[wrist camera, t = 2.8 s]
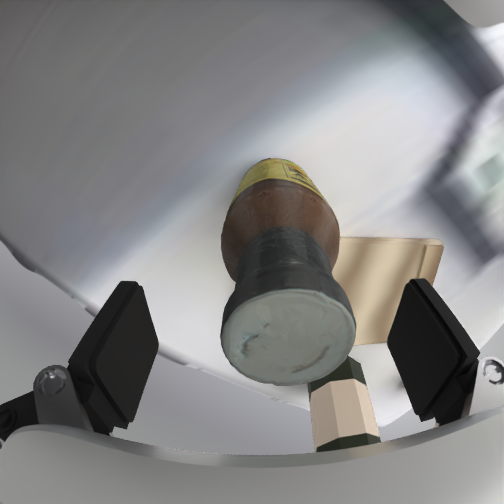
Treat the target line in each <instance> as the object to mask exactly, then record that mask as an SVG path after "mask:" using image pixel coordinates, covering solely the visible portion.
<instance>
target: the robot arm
mask: <svg viewBox="0 0 504 504" xmlns="http://www.w3.org/2000/svg"><path fill="white" fill-rule="evenodd" d="M387 345H388V348H389V350H390V353H391V355H392V357H393V360H394V362H395V364H396V367H397V369H398V371H399V374H400V376H401V379H402V381H403V384H404V386H405V389H406V391H407V394H408V397H409V399H410V402H411V404H412V407H413V410H414V412H415V414H416V415H419V417H420V420H421V422H423V421H426V420H429V419H433V418H434V417H435V419H436V424H435V426H434V428H433V429H429V430H426V431H423V432H420V433H416V434H413V435H410V436H406V437H402V438H398V439H394V440H390V441H386V442H381V443H376V444H371V445H366V446H360V447H354V448H348V449H341V450H334V451H326V452H316V453H306V454H289V455H230V454H213V453H203V452H193V451H184V450H177V449H171V448H165V447H158V446H153V445H148V444H143V443H138V442H133V441H128V440H123V439H120V438H115V437H114V436H113V434H112V431H113V428H114V426H115V427H119V428H123V429H127V427H128V424H129V422H133V420H134V418H135V415H136V411H137V409H138V406H139V402H140V400H141V396H142V394H143V390H144V387H145V385H146V382H147V379H148V376H149V373H150V371H151V368H152V365H153V362H154V359H155V357H156V354H157V351H158V347H159V343H158V338H157V335H156V332H155V329H154V325H153V322H152V319H151V315H150V312H149V308H148V305H147V301H146V297H145V294H144V290H143V287H142V286H139V285H138V283H137V282H136V281H121V282H120V283H119V284H118V286H117V287H116V288H115V290H114V291H113V293H112V294H111V295H110V297H109V298H108V300H107V301H106V303H105V304H104V306H103V307H102V309H101V310H100V312H99V313H98V315H97V316H96V318H95V319H94V321H93V322H92V324H91V325H90V327H89V328H88V330H87V331H86V333H85V335H84V336H83V338H82V339H81V341H80V342H79V344H78V346H77V347H76V349H75V351H74V352H73V354H72V356H71V357H70V359H69V361H68V363H69V365H68V367H67V369H66V368H65V367H63V366H60V365H52V366H48V367H46V368H44V369H43V370H42V371H41V372H39V374H38V375H37V376H36V378H35V381H34V383H33V384H34V385H33V391H31V392H29V393H27V394H25V395H22V396H20V397H18V398H15V399H13V400H11V401H8V402H6V403H3V404H2V405H0V504H504V363H503V362H502V361H501V360H500V359H498V358H496V357H492V356H486V357H484V358H482V359H481V360H480V361H478V359H477V357H478V356H479V354H480V352H479V350H478V349H477V347H476V346H475V344H474V343H473V341H472V340H471V338H470V337H469V335H468V334H467V332H466V331H465V329H464V328H463V327H462V325H461V324H460V322H459V321H458V320H457V318H456V317H455V316H454V314H453V313H452V311H451V310H450V309H449V307H448V306H447V305H446V304H445V302H444V301H443V300H442V298H441V297H440V296H439V294H438V293H437V292H436V291H435V289H434V288H433V287H432V286H431V284H430V283H429V282H428V281H427V280H426V279H425V278H417V279H411V280H410V281H409V282H408V283H406V285H405V287H404V290H403V293H402V297H401V300H400V303H399V306H398V309H397V312H396V315H395V318H394V321H393V324H392V327H391V329H390V332H389V335H388V338H387Z"/></svg>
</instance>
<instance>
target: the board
mask: <svg viewBox="0 0 504 504" xmlns="http://www.w3.org/2000/svg"><path fill="white" fill-rule="evenodd" d="M443 248H444V244H442V243H441V242H440V241H439V240H438V239H406V238H354V237H340V242H339V254H338V259H337V261H336V264H335V266H334V268H333V271H332V275H333V277H334V280H336V281H337V282H338V283H339V284H340V286H341V287H342V288H343V290H344V291H345V293H346V295H347V297H348V299H349V302H350V304H351V307H352V310H353V314H354V317H355V321H356V337H355V342H354V344H353V345H364V344H375V343H385V342H387V338H388V335H389V332H390V329H391V327H392V324H393V321H394V318H395V315H396V312H397V309H398V306H399V303H400V300H401V297H402V293H403V290H404V287H405V285H406V283H408V282H409V281H410V280H411V279H417V278H425V279H426V280H427V281H428V282H429V283H430V284H431V286H432V285H433V282H434V279H435V276H436V273H437V270H438V266H439V263H440V259H441V256H442V252H443Z"/></svg>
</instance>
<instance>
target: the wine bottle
mask: <svg viewBox="0 0 504 504" xmlns="http://www.w3.org/2000/svg"><path fill="white" fill-rule="evenodd" d="M308 393H309V402H310V412H311V422H312V433H313V444H314V453H316V452H326V451H334V450H341V449H348V448H354V447H360V446H366V445H371V444H376V443H381V441H380V436H379V432H378V427H377V423H376V419H375V415H374V411H373V408H372V404H371V400H370V396H369V393H368V389H367V385H366V382H365V378H364V375H363V371H362V368H361V364H360V363H358V362H357V361H355V360H354V359H352V358H351V357H349V356H347V358H346V360H345V361H344V362H343V363H342V364H340V365H339V366H338V367H337V368H336V369H335V370H334V371H332V372H331V373H330V374H328V375H326V376H325V377H323V378H320V379H317V380H314V381H311V382H308Z"/></svg>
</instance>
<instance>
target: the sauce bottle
mask: <svg viewBox="0 0 504 504" xmlns="http://www.w3.org/2000/svg"><path fill="white" fill-rule="evenodd" d="M339 242H340V232H339V225H338V221H337V219H336V216H335V214H334V212H333V210H332V209H331V207H330V206H329V204H328V203H327V201H326V200H325V199H324V197H323V196H322V195H321V193H320V192H319V190H318V189H317V188H316V186H315V185H314V184H313V182H312V181H311V180H310V179H309V177H308V176H307V175H306V173H305V172H304V171H303V170H302V169H301V168H300V167H299V166H297V165H296V164H294V163H293V162H291V161H288V160H284V159H271V158H269V159H264V160H262V161H260V162H259V163H257V164H256V165H254V166H253V167H252V168H251V169H250V170H249V171H248V172H247V173H246V175H245V176H244V178H243V180H242V182H241V184H240V186H239V188H238V190H237V192H236V194H235V196H234V199H233V201H232V203H231V205H230V207H229V210H228V212H227V216H226V220H225V222H224V226H223V231H222V234H221V250H222V256H223V260H224V263H225V266H226V269H227V271H228V273H229V275H230V277H231V278H232V279H233V280H234V281H235V282H236V285H235V291H234V292H233V293H232V295H231V296H230V298H229V300H228V302H227V304H226V306H225V308H224V313H223V320H222V327H221V334H220V338H221V345H222V349H223V352H224V354H225V356H226V358H227V359H228V360H229V362H230V364H231V365H232V366H233V367H235V368H236V369H237V371H238V372H239V373H241V374H243V375H244V376H246V377H248V378H250V379H252V380H255V381H258V382H261V383H268V384H274V385H276V386H292V385H300V384H304V383H308V382H311V381H314V380H317V379H320V378H323V377H325V376H326V375H328V374H330V373H331V372H332V371H334V370H335V369H336V368H337V367H338V366H339V365H340V364H342V363H343V362H344V361H345V360H346V358H347V356H348V354H349V352H350V351H351V349H352V346H353V344H354V342H355V337H356V321H355V317H354V314H353V310H352V307H351V304H350V302H349V299H348V297H347V295H346V293H345V291H344V290H343V288H342V287H341V286H340V284H339V283H338V282H337V281H336V280H334V277H333V275H332V271H333V268H334V266H335V264H336V261H337V259H338V254H339Z"/></svg>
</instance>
